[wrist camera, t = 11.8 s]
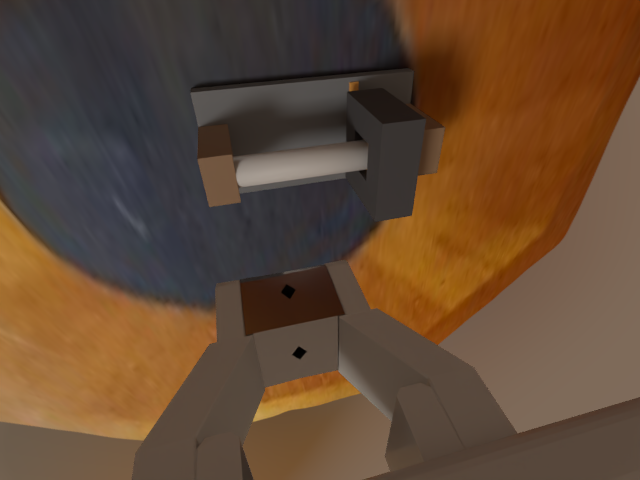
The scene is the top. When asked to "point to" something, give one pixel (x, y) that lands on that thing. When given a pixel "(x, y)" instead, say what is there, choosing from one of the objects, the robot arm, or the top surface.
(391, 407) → the robot arm
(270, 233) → the top surface
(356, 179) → the collar
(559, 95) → the top surface
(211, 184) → the pipe rig
